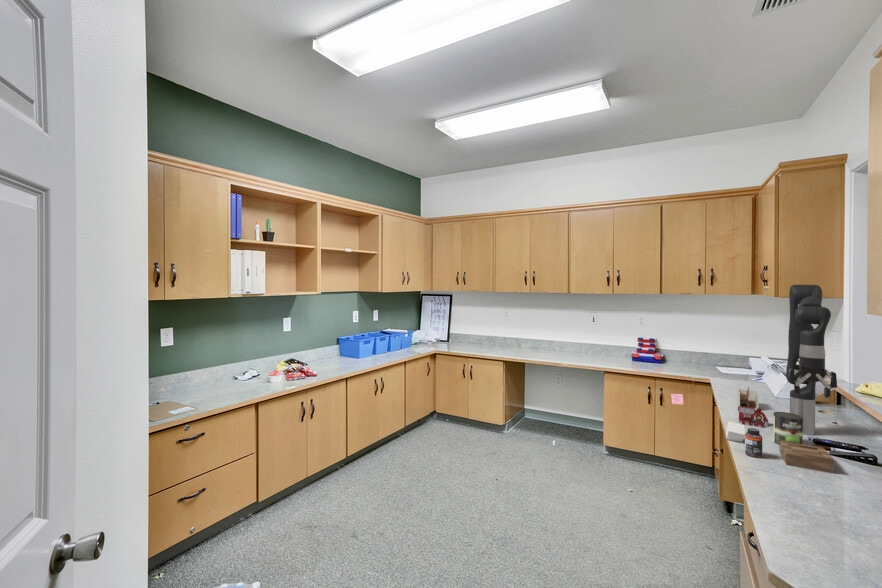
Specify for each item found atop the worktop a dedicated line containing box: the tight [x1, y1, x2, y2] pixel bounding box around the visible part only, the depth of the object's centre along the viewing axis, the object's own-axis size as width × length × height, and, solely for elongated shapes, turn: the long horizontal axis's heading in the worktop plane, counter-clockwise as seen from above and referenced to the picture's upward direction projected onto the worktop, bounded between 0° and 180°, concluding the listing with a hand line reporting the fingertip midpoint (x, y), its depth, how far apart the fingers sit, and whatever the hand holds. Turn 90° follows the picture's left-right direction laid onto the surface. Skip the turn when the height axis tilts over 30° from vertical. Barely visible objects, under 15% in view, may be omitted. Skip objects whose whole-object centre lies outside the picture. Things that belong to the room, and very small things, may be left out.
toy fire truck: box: [737, 405, 769, 429], centre depth 203 cm, size 7×12×10 cm, turn 56°
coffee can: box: [772, 411, 804, 446], centre depth 179 cm, size 10×10×14 cm
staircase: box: [736, 386, 759, 410], centre depth 229 cm, size 9×11×17 cm
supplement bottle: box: [744, 427, 763, 459], centre depth 169 cm, size 6×6×11 cm
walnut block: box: [778, 441, 835, 474], centre depth 161 cm, size 14×14×6 cm
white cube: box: [725, 421, 746, 443], centre depth 184 cm, size 6×6×6 cm
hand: (811, 396), depth 158 cm, fingers open, 8 cm apart
